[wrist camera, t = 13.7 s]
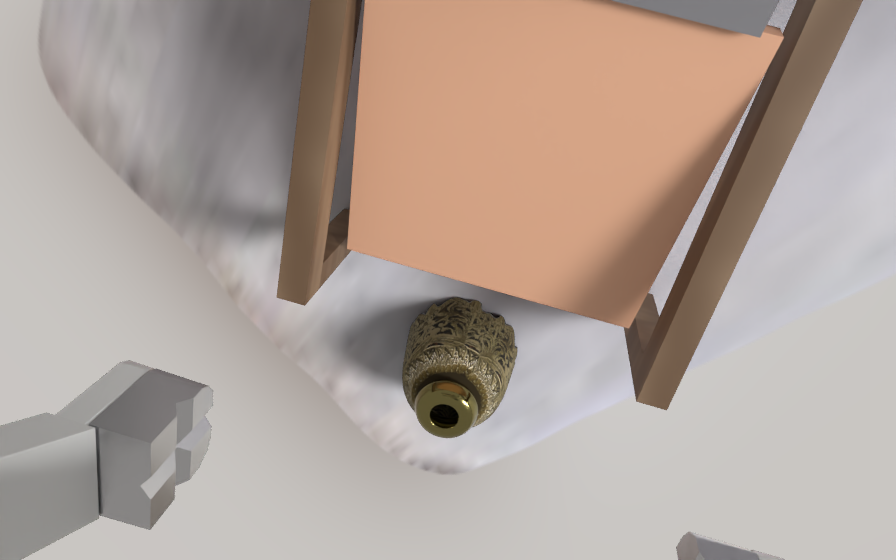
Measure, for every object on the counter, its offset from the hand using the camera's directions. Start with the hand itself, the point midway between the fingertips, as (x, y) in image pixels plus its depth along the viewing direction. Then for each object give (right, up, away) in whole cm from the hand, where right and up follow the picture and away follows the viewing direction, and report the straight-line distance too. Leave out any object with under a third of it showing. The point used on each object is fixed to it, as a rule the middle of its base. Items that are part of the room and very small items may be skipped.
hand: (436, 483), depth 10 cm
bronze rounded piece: (0, -4, +25) cm, 25 cm away
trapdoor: (+4, +12, +18) cm, 22 cm away
